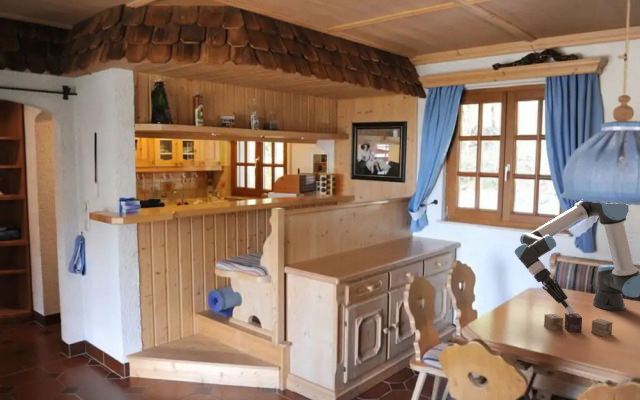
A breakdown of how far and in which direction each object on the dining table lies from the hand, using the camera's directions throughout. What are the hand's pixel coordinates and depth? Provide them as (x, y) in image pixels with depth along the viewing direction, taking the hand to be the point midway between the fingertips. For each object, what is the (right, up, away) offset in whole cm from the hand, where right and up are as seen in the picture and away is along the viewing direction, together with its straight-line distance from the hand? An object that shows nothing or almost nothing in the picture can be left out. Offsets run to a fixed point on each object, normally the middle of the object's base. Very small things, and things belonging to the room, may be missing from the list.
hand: (572, 312), depth 235 cm
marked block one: (+11, -9, -4) cm, 15 cm away
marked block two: (-8, -8, +3) cm, 12 cm away
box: (0, -9, +1) cm, 9 cm away
